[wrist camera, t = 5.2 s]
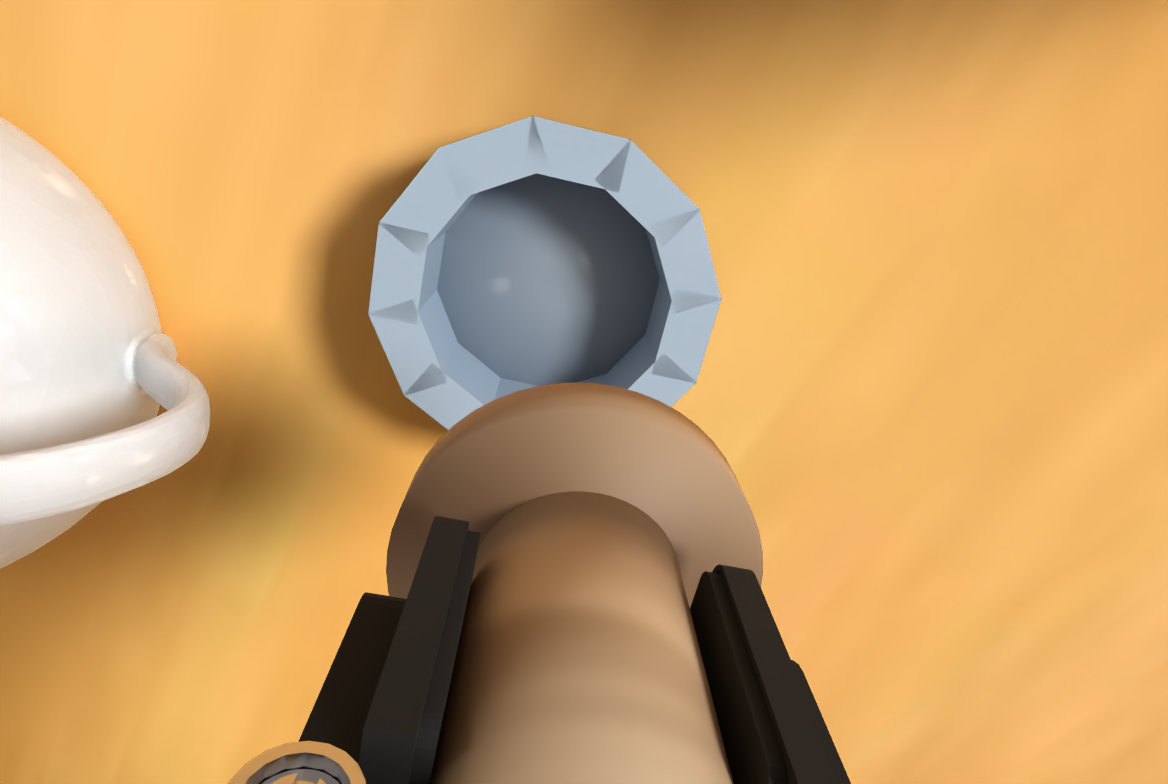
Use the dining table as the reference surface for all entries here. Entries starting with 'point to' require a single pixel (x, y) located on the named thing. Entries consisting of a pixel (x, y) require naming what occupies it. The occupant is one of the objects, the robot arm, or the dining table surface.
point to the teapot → (78, 357)
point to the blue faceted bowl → (541, 271)
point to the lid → (579, 587)
